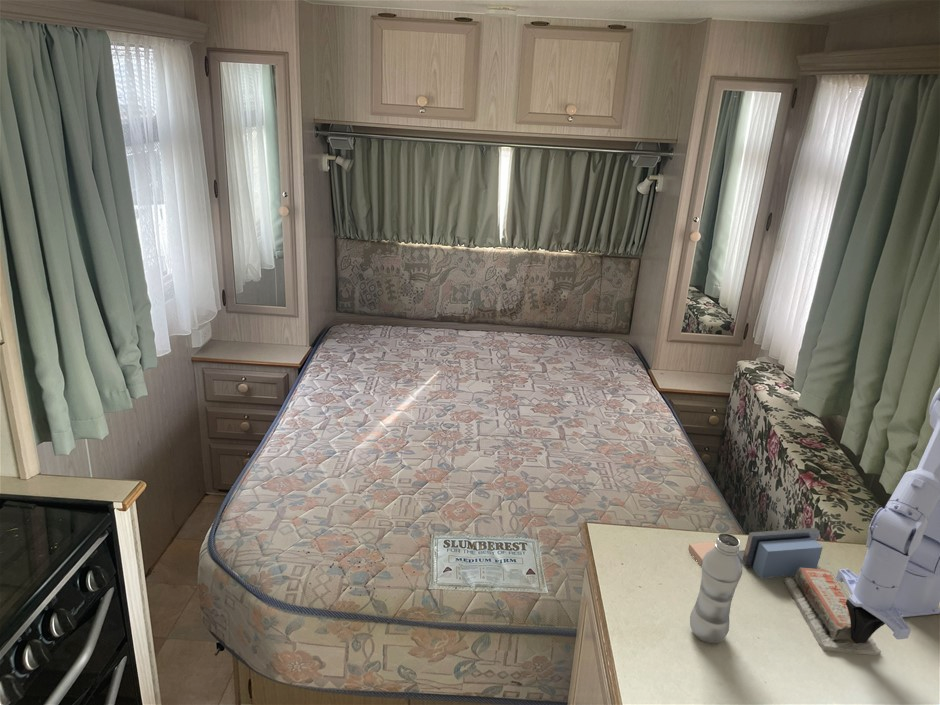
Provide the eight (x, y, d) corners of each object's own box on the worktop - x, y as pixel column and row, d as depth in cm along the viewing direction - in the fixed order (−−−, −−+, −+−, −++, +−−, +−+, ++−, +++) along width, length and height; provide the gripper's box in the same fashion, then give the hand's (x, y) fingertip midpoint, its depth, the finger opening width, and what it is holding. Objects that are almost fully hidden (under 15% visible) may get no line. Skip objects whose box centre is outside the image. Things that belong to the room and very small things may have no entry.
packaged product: (787, 562, 133) (838, 566, 133) (781, 582, 135) (832, 586, 135) (829, 631, 117) (887, 636, 117) (822, 653, 119) (880, 657, 118)
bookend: (798, 548, 145) (806, 518, 142) (810, 561, 141) (819, 531, 138) (733, 553, 142) (741, 523, 139) (744, 567, 138) (752, 536, 136)
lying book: (722, 548, 144) (723, 540, 144) (735, 563, 140) (737, 555, 139) (687, 551, 143) (689, 543, 142) (700, 567, 138) (702, 559, 137)
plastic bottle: (701, 651, 117) (724, 555, 109) (680, 622, 123) (700, 529, 115) (734, 645, 118) (758, 550, 111) (711, 617, 124) (733, 525, 117)
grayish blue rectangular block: (805, 564, 141) (813, 537, 138) (814, 573, 138) (822, 547, 135) (752, 568, 138) (759, 541, 136) (760, 578, 136) (768, 551, 133)
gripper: (829, 549, 118) (810, 611, 124) (892, 609, 105) (868, 676, 110) (865, 547, 120) (845, 608, 125) (931, 605, 107) (905, 672, 112)
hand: (858, 640), depth 118 cm, fingers closed
